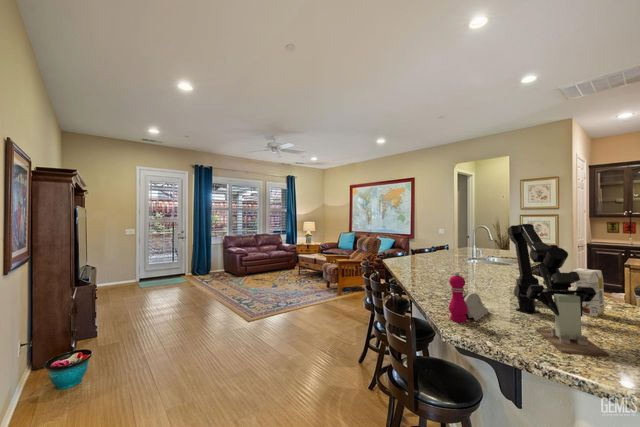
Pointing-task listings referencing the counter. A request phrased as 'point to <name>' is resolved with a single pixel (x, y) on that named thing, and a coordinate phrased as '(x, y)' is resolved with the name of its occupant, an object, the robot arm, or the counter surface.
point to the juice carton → (595, 281)
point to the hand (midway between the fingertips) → (569, 315)
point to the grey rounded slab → (474, 306)
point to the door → (568, 315)
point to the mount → (571, 343)
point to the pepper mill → (457, 299)
